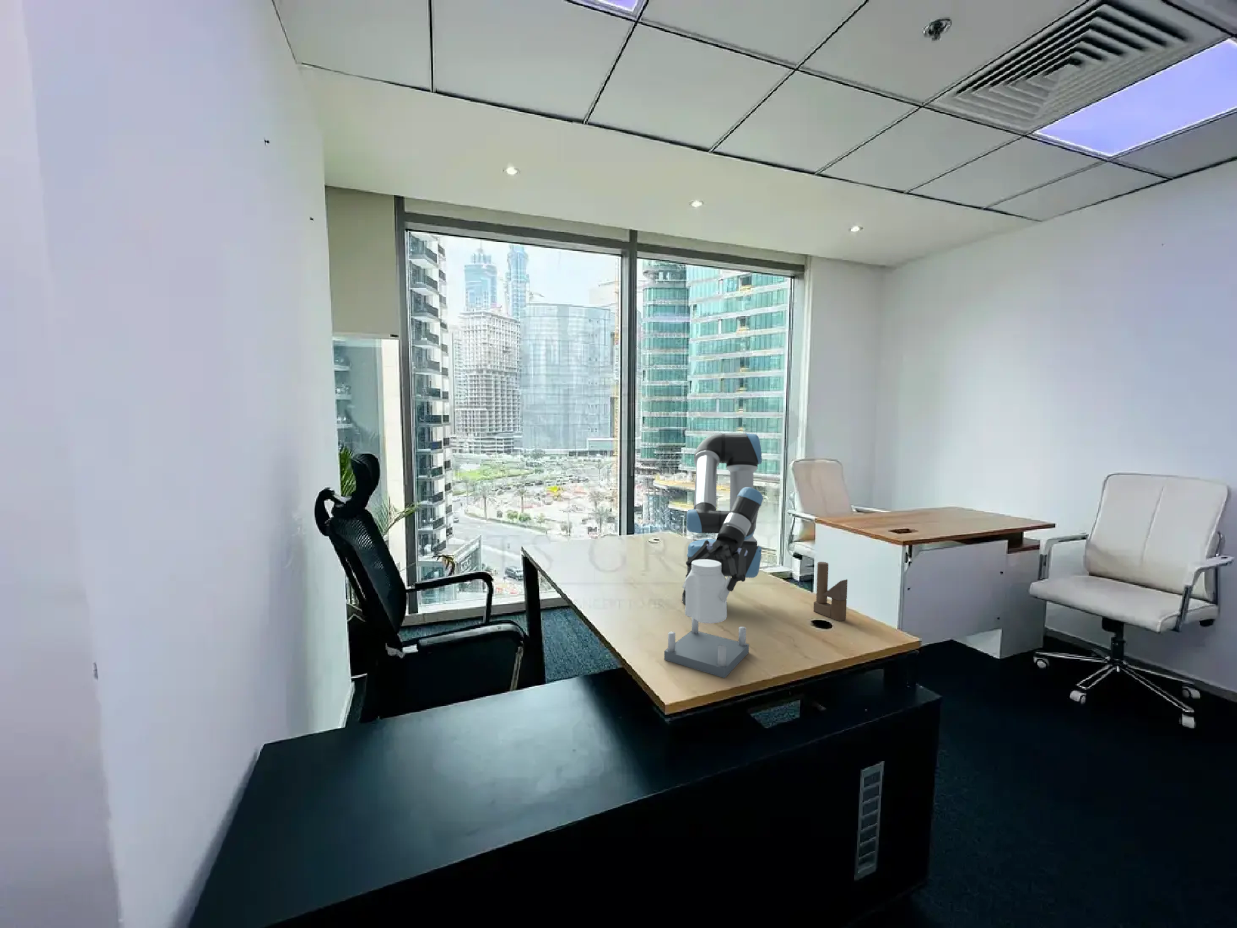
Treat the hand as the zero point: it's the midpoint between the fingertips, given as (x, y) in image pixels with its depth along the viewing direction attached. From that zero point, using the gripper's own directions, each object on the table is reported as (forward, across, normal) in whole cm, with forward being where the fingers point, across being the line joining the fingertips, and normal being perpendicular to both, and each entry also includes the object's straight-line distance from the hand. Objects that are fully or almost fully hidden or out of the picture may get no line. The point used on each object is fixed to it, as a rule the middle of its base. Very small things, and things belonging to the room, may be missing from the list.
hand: (702, 594), depth 136 cm
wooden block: (-29, -12, -56) cm, 64 cm away
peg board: (+11, +1, -16) cm, 19 cm away
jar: (+4, 0, -6) cm, 7 cm away
